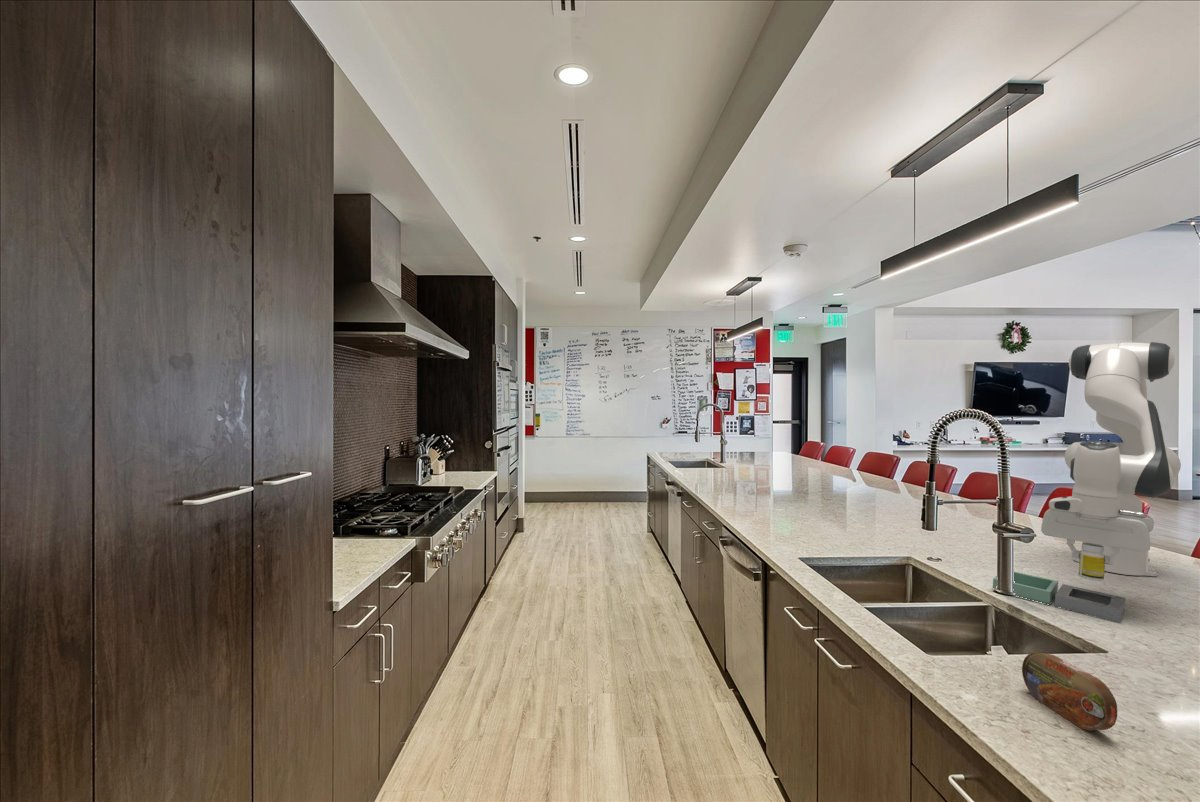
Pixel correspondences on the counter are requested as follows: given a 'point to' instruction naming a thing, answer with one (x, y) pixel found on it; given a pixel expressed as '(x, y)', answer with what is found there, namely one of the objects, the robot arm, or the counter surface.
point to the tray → (1033, 587)
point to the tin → (1070, 691)
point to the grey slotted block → (1091, 602)
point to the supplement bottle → (1092, 562)
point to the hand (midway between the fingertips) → (1091, 560)
